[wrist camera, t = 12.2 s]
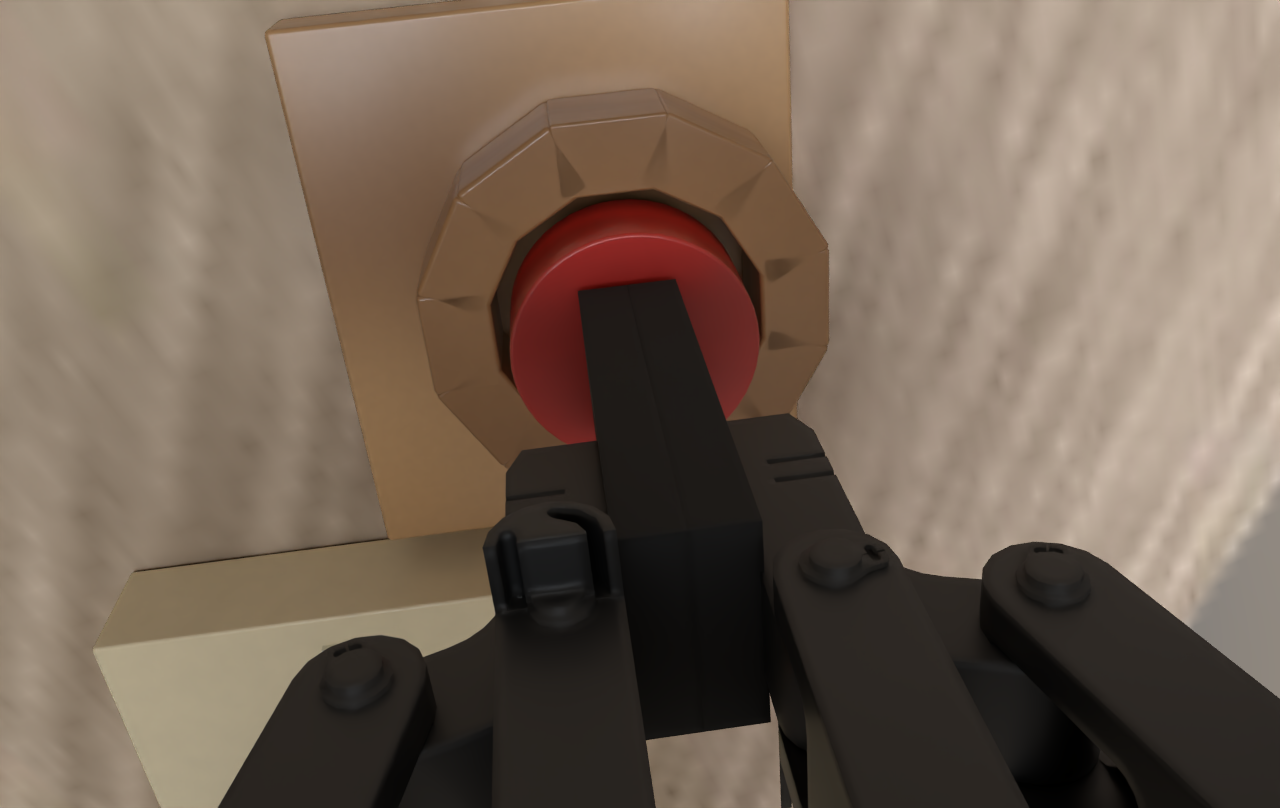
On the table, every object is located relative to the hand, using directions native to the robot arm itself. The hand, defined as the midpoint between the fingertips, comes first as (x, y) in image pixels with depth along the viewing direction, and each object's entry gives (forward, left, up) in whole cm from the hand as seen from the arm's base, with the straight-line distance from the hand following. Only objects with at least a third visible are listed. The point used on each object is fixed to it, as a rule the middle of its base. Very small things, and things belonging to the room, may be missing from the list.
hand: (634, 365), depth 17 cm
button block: (0, +1, -5) cm, 5 cm away
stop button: (0, 0, -2) cm, 2 cm away
